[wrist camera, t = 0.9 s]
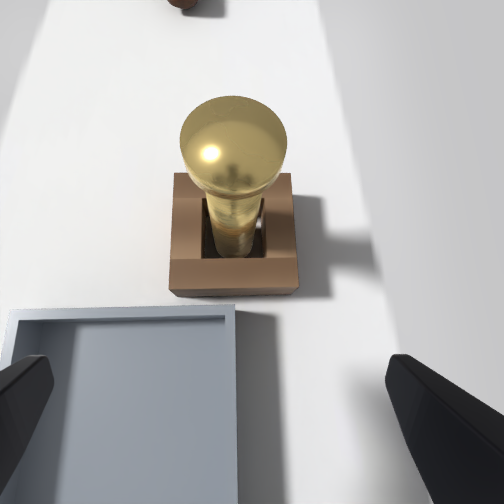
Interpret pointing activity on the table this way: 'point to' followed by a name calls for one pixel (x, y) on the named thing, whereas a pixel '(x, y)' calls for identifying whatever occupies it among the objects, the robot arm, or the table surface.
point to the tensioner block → (232, 269)
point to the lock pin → (233, 164)
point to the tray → (130, 405)
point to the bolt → (183, 3)
